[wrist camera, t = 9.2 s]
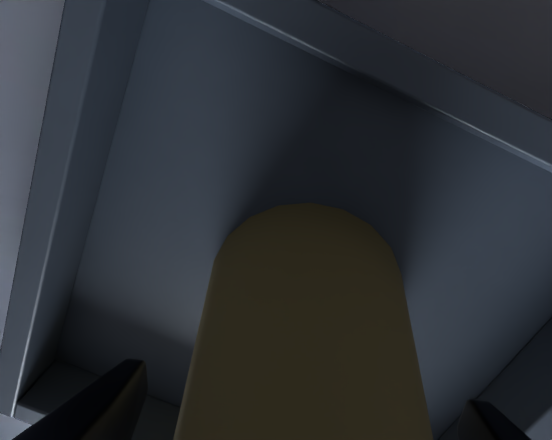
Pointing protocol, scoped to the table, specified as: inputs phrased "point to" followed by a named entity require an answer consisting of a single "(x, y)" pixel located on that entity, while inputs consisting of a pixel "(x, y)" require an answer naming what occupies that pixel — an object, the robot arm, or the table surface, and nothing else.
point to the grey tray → (273, 198)
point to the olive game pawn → (304, 336)
